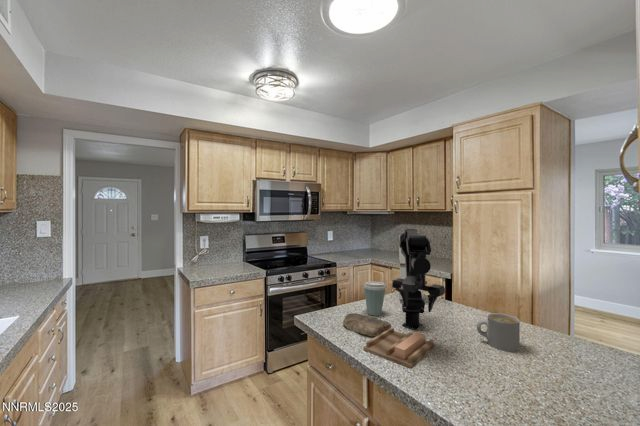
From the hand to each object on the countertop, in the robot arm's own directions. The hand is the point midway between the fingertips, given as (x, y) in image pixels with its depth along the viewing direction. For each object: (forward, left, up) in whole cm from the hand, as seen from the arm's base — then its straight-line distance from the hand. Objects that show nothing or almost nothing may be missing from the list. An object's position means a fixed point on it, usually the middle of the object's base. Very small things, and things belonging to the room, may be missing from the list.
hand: (417, 309), depth 113 cm
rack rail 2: (+10, +6, -12) cm, 17 cm away
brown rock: (+3, -23, -13) cm, 26 cm away
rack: (+10, -2, -12) cm, 16 cm away
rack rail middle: (+10, -2, -12) cm, 16 cm away
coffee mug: (-17, +23, -12) cm, 31 cm away
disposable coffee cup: (-14, -28, -12) cm, 34 cm away
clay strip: (+10, +2, -11) cm, 15 cm away
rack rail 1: (+10, -10, -12) cm, 18 cm away
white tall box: (-43, -24, -12) cm, 51 cm away
